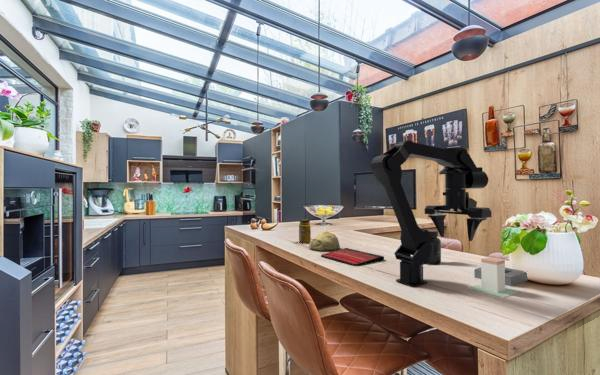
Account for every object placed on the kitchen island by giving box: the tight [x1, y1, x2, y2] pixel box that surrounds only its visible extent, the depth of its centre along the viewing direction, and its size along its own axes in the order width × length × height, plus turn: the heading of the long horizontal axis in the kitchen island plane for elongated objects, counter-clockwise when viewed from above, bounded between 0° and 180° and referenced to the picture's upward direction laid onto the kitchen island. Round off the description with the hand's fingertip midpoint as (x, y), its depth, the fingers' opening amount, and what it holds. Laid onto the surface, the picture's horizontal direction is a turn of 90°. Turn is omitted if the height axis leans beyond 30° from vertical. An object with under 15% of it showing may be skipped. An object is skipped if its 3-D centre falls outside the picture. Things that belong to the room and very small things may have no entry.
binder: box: [320, 247, 385, 267], centre depth 123 cm, size 16×2×21 cm
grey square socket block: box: [473, 266, 529, 287], centre depth 92 cm, size 10×10×3 cm
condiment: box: [293, 218, 312, 245], centre depth 159 cm, size 7×8×12 cm
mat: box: [467, 283, 522, 299], centre depth 82 cm, size 9×9×1 cm
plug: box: [480, 257, 506, 293], centre depth 82 cm, size 4×4×8 cm
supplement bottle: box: [427, 229, 442, 265], centre depth 114 cm, size 7×7×12 cm
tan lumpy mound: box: [308, 231, 341, 252], centre depth 142 cm, size 14×12×8 cm
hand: (455, 238), depth 95 cm, fingers open, 9 cm apart
